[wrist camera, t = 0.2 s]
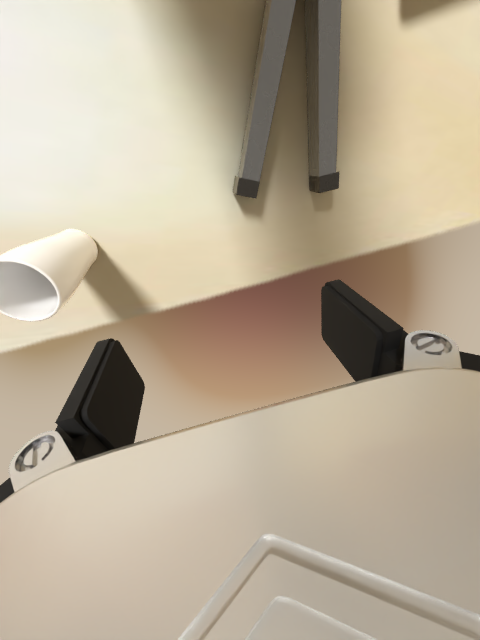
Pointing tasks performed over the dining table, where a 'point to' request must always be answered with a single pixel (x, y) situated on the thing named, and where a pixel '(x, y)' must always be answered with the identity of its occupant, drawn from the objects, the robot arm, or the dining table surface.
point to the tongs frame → (322, 91)
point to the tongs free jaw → (264, 93)
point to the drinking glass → (44, 274)
